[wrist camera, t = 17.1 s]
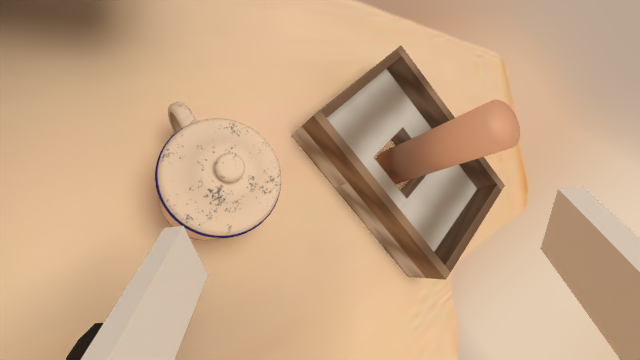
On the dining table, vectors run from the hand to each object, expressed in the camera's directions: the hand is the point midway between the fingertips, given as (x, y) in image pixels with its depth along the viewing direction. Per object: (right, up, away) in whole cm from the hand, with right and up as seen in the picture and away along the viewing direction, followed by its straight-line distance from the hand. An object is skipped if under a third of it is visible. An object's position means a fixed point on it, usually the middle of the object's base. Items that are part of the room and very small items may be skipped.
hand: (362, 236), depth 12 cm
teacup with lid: (-13, +2, +20) cm, 24 cm away
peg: (+7, +4, +30) cm, 31 cm away
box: (+7, +4, +30) cm, 32 cm away
